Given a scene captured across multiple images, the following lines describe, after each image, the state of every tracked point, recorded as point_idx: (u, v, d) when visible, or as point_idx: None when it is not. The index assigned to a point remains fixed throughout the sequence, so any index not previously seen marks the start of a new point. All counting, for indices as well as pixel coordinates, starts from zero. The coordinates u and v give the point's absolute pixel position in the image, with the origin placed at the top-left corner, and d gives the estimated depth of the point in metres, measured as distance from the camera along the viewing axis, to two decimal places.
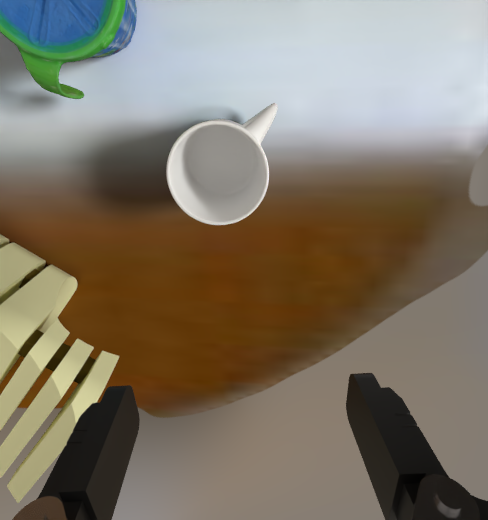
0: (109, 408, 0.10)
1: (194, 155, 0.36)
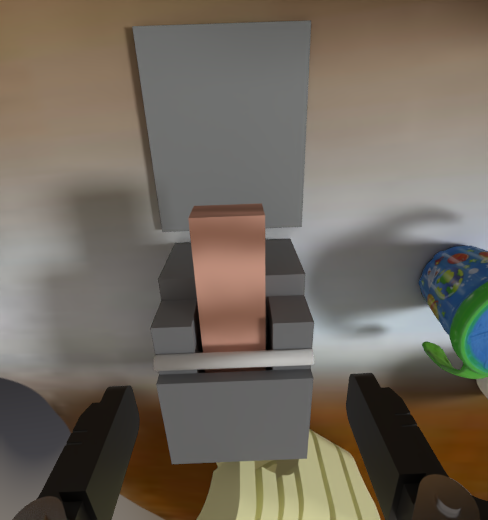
0: (109, 408, 0.10)
1: None
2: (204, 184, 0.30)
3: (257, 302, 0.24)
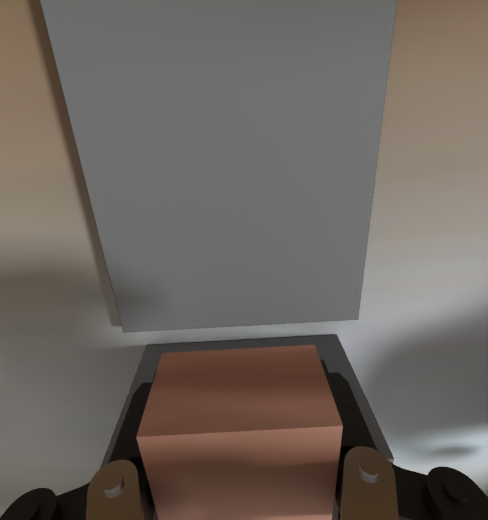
0: None
1: None
2: (191, 258, 0.17)
3: None
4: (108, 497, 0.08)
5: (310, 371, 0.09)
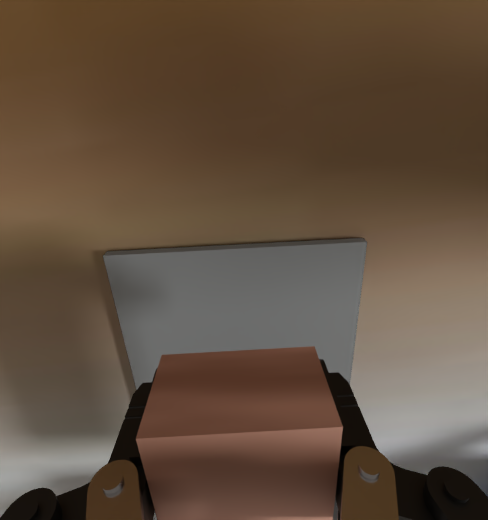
0: None
1: None
2: None
3: None
4: (108, 497, 0.08)
5: (310, 372, 0.09)
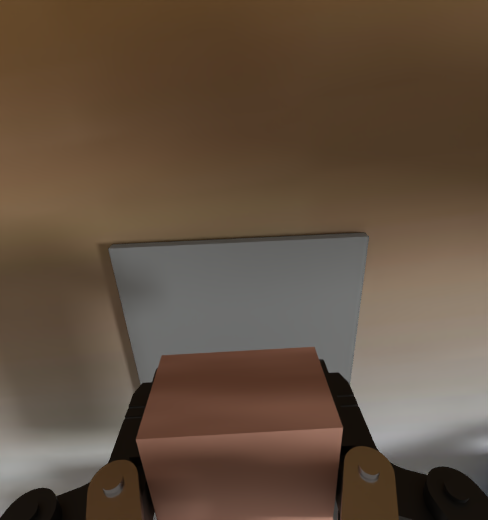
0: None
1: None
2: None
3: None
4: (108, 497, 0.08)
5: (310, 373, 0.09)
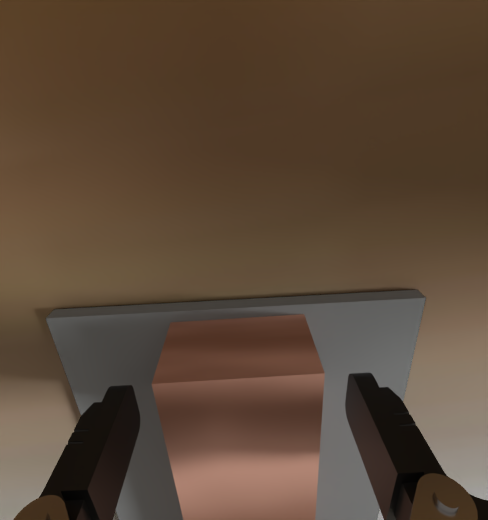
0: (110, 407, 0.10)
1: None
2: None
3: (300, 508, 0.12)
4: None
5: (299, 334, 0.11)
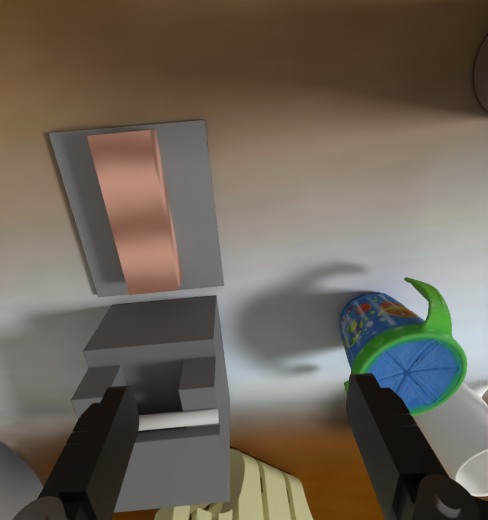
0: (109, 408, 0.10)
1: None
2: None
3: (156, 209, 0.29)
4: None
5: None
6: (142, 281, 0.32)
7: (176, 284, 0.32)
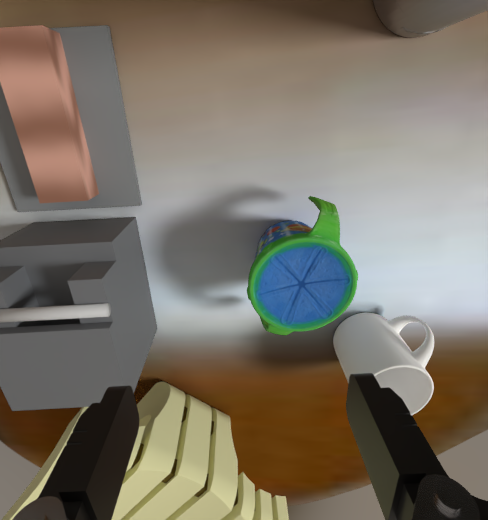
0: (109, 408, 0.10)
1: None
2: None
3: (58, 111, 0.30)
4: None
5: None
6: (51, 189, 0.33)
7: (85, 194, 0.33)
